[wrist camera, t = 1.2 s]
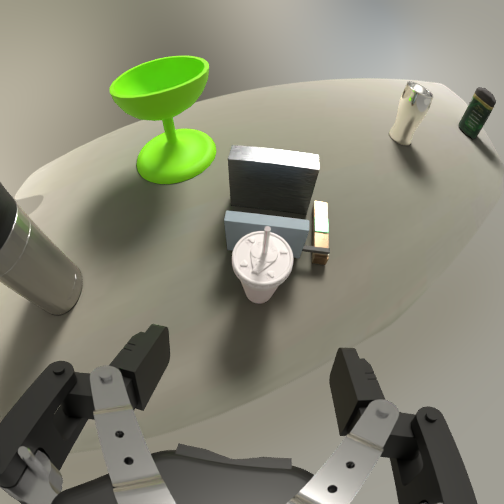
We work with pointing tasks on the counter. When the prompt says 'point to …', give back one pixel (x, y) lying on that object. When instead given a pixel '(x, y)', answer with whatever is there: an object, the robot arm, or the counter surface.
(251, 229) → the gauge paddle
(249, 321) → the counter surface
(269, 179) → the gauge frame
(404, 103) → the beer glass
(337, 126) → the counter surface
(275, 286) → the smoothie
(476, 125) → the coffee jar
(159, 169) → the wineglass
